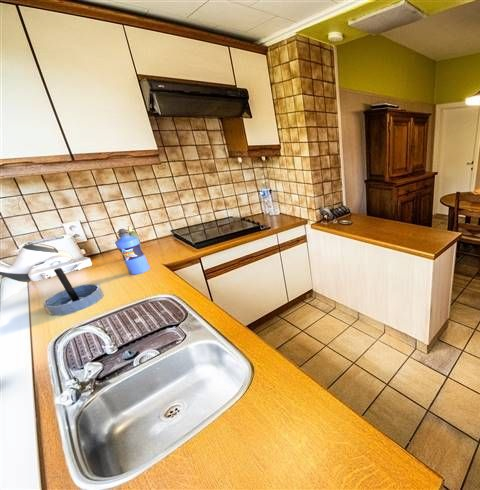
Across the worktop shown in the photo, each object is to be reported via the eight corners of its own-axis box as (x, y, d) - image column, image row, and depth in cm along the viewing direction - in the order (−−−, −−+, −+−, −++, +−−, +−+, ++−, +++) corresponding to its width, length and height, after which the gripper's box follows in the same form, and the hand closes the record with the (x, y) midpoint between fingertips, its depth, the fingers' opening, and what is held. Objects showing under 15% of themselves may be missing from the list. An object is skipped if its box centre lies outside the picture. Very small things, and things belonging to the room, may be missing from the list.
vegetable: (138, 254, 170) (125, 225, 162) (146, 253, 172) (134, 224, 164) (136, 257, 167) (123, 227, 159) (144, 255, 168) (132, 226, 160)
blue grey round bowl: (51, 324, 108) (43, 312, 106) (50, 308, 119) (42, 297, 116) (108, 303, 120) (102, 292, 118) (102, 290, 131) (96, 280, 128)
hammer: (70, 309, 115) (47, 273, 108) (69, 304, 119) (47, 269, 112) (87, 303, 119) (67, 268, 112) (86, 299, 123) (66, 264, 115)
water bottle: (134, 268, 152) (115, 227, 142) (153, 265, 154) (136, 225, 144) (126, 276, 144) (105, 233, 133) (146, 273, 146) (127, 230, 136)
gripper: (92, 262, 139) (96, 270, 130) (33, 279, 125) (33, 288, 116) (87, 251, 136) (90, 258, 128) (26, 267, 122) (25, 276, 114)
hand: (63, 273), depth 122 cm, fingers open, 8 cm apart
